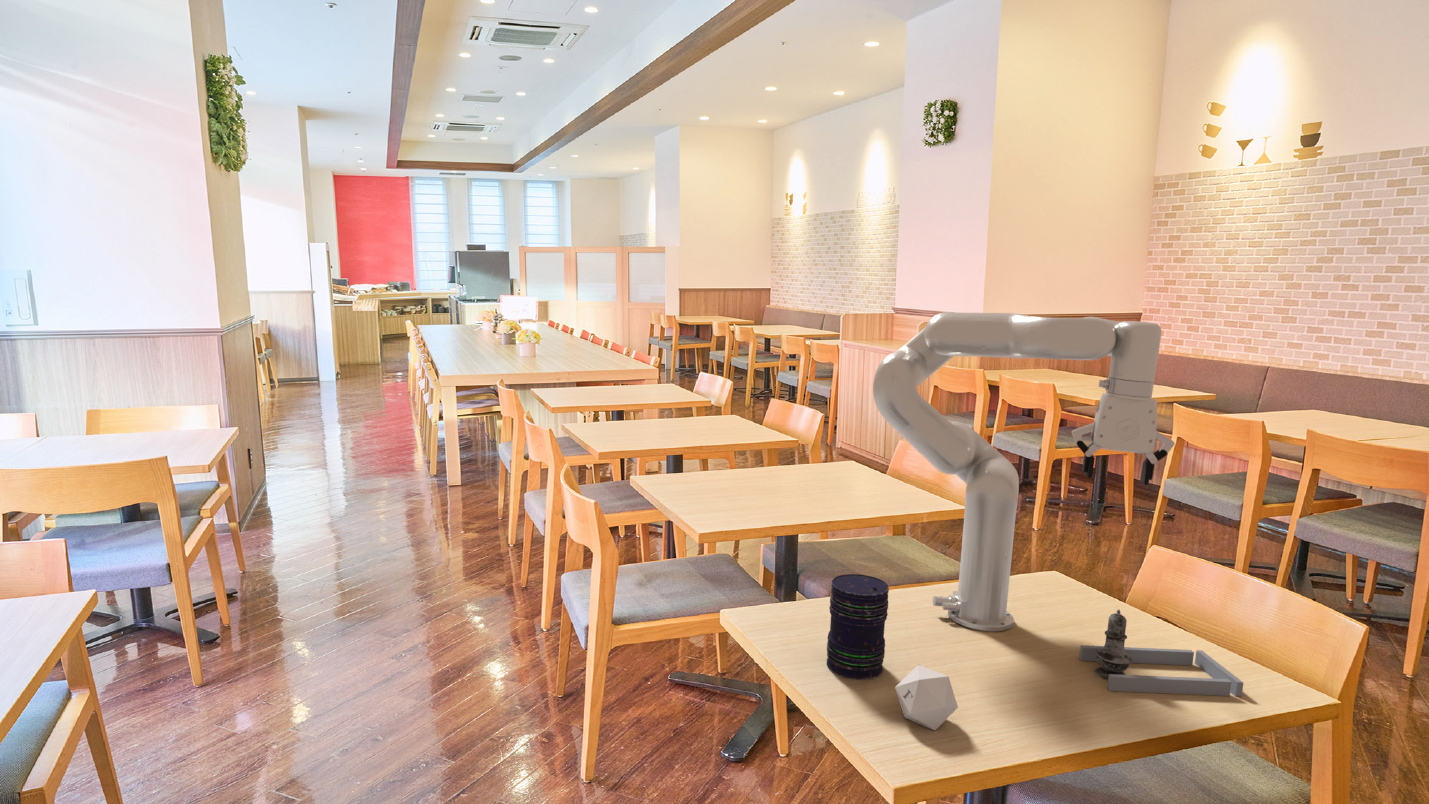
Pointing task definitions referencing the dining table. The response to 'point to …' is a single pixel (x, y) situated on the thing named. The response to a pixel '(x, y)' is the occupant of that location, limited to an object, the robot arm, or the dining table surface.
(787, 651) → the dining table surface
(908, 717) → the die
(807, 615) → the dining table surface
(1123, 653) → the dark ringed finial
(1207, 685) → the frame
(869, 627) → the dark blue cylinder
